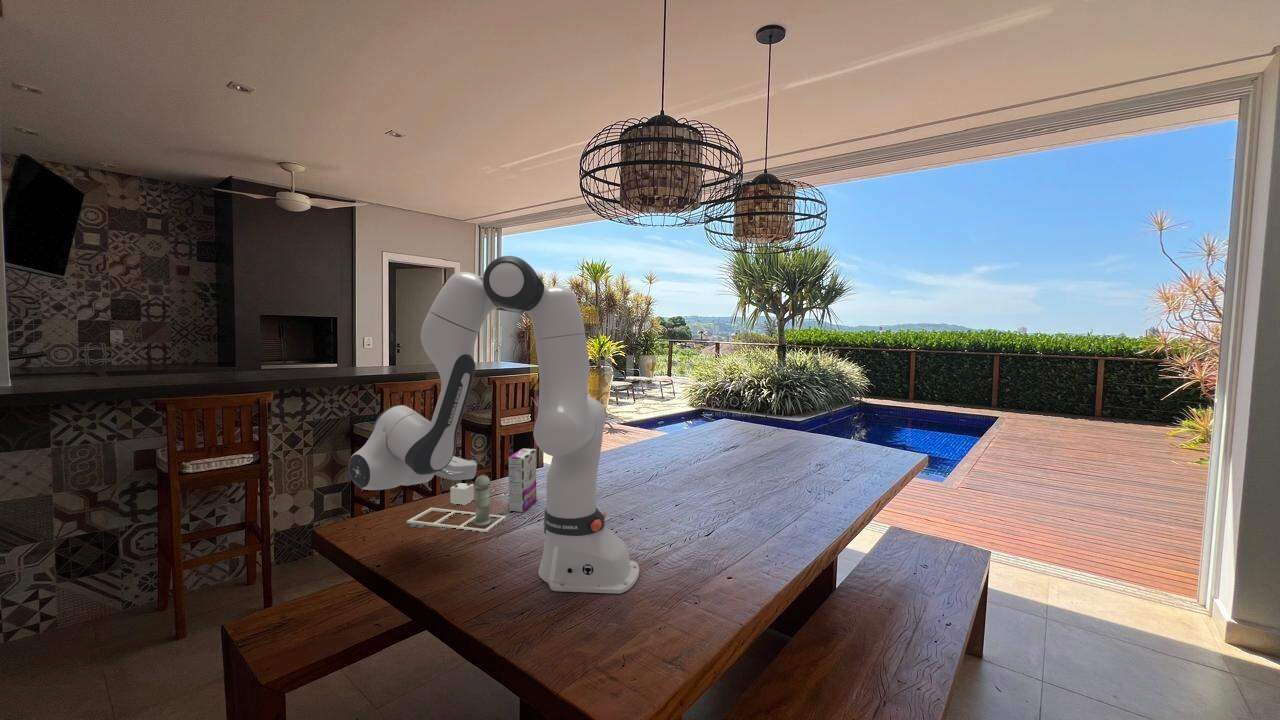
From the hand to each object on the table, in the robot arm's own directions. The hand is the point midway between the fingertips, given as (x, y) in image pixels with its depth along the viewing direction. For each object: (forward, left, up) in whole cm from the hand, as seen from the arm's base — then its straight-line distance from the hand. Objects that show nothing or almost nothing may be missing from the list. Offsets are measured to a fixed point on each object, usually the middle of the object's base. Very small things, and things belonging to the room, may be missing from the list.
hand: (459, 459), depth 137 cm
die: (+14, -25, -21) cm, 35 cm away
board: (+7, -9, -21) cm, 24 cm away
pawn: (0, -11, -21) cm, 23 cm away
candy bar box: (-5, -27, -21) cm, 34 cm away
